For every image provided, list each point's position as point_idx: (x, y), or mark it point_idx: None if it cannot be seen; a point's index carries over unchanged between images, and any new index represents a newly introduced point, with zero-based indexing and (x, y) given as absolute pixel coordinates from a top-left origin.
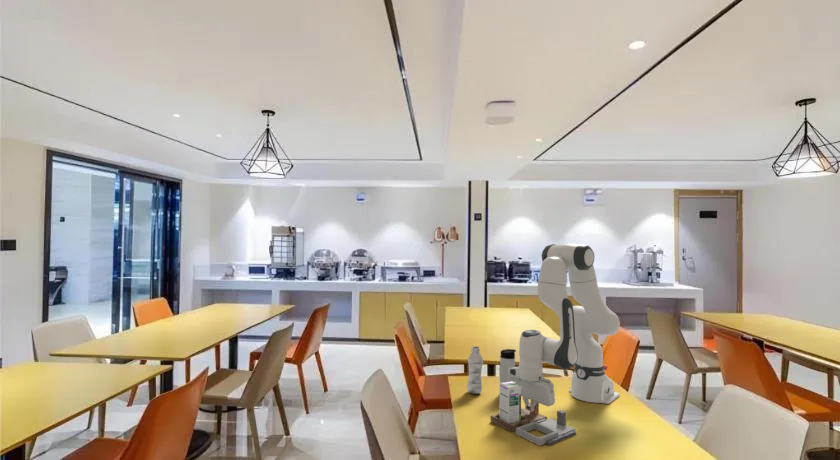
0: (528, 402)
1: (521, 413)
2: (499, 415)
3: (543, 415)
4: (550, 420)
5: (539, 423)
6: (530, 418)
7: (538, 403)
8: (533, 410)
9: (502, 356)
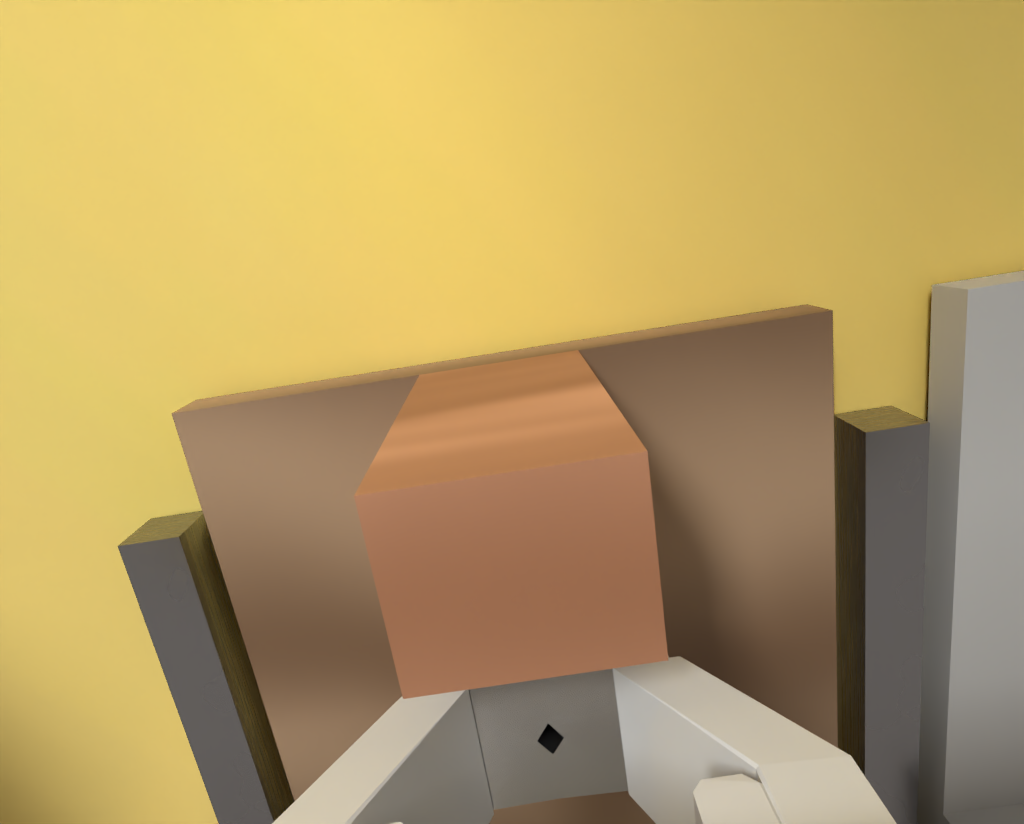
0: (439, 760)
1: None
2: None
3: (734, 332)
4: (1017, 390)
5: (964, 698)
6: None
7: (630, 441)
8: None
9: None
